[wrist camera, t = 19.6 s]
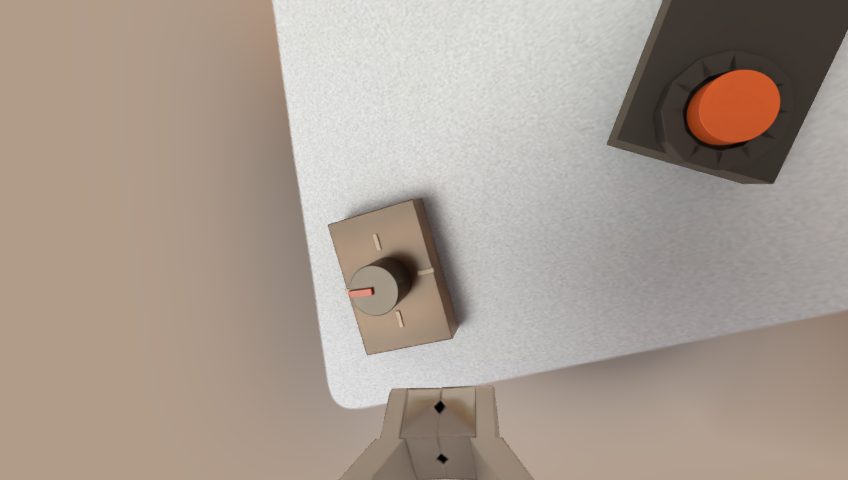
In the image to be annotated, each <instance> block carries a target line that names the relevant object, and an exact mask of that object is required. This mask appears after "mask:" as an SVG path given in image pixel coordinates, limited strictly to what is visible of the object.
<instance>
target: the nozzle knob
mask: <svg viewBox="0 0 848 480" xmlns="http://www.w3.org/2000/svg"><path fill="white" fill-rule="evenodd" d="M410 288H411V277H410V274H409V271H408V270H407V268H406V267H405V266H404V264H402V263H401V262H400V261H398V260H396V259H393V258H381V259H378V260H376V261H374V262H372V263H370V264H368V265H366V266H364V267H362V268H360V269H359V270H358V271H357V272H356V273H355V274H354V275H353V277H352V280H351V283H350V291H349V297H350V298H352V300H353V302H354V304H355V305H356V306H357V308H358V309H360V310H361V311H362V312H364V313H366V314H368V315H372V316H381V315H384V314H387V313H388V312H390V311H391V310H392V309H393V308H394V307H395V306H397V305H398V304H399V303H400V302H401V301H402V300H403V299H404V298H405V297H406V296H407V295H408V293H409V291H410Z"/></svg>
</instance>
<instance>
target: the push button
mask: <svg viewBox="0 0 848 480" xmlns="http://www.w3.org/2000/svg"><path fill="white" fill-rule="evenodd" d="M779 108H780V95H779V91H778V88H777V87H776V85H775V83H774V82H773V81H772V80H771V79H770V78H769V77H768V76H766V75H764V74H762V73H760V72H757V71H754V70H736V71H732V72H728V73H726V74H724V75H722V76H720V77H718V78H717V79H715V80H713V81H711V82H710V83H708V84H706V85H704V86H703V87H702V88H700V89H699V90H698V91H697V92H696V93H695V95H694V96H693V97H692V99H691V101H690V103H689V106H688V109H687V122H688V126H689V128H690V130H691V132H692V133H693V134H694V135H695V136H696V137H697V138H698V139H699V140H701V141H703V142H705V143H708V144H712V145H728V144H733V143H738V142H743V141H747V140H750V139H753V138H755V137H757V136H759V135H760V134H762V133H763V132H764V131H766V130H767V129H768V128H769V127H770V126H771V124H772V123H773V122H774V120H775V118H776V117H777V114H778V112H779Z"/></svg>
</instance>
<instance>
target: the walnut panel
mask: <svg viewBox="0 0 848 480" xmlns="http://www.w3.org/2000/svg"><path fill="white" fill-rule="evenodd" d="M328 227H329V231H330V234H331V237H332V241H333V244H334V247H335V251H336V254H337V257H338V260H339V264H340V267H341V270H342V274H343V277H344V280H345V284H346V287H347V289H345V291H346V293H348V294H349V291H350V283H351V280H352V277H353V275H354V274H355V273H356V272H357V271H358V270H359V269H360V268H362V267H364V266H366V265H368V264H370V263H372V262H374V261H376V260H378V259H381V258H393V259H396V260H398V261H400V262H401V263H402V264H404V266H405V267H406V268H407V270H408V271H409V274H410V277H411V288H410V291H409V293H408V295H407V296H406V297H405V298H404V299H403V300H402V301H401V302H400V303H399V304H398V305H397V306H395V307H394V308H393V309H392V310H391V311H390V312H388V313H387V314H384V315H381V316H372V315H368V314H366V313H364V312H362V311H361V310H360V309H358V308H357V306H356V305H355V304H354V302H353V300H352V298H350V300H351V304H352V307H353V310H354V314H355V317H356V320H357V324H358V327H359V330H360V334H361V337H362V340H363V344H364V347H365V350H366V354H367V355H371V354H376V353H381V352H386V351H391V350H397V349H402V348H407V347H412V346H417V345H422V344H427V343H432V342H437V341H442V340H447V339H452V338H453V337H454V335H455V333H456V331H457V329H458V323H457V320H456V316H455V313H454V309H453V306H452V302H451V299H450V295H449V292H448V288H447V285H446V281H445V278H444V274H443V271H442V267H441V264H440V260H439V257H438V253H437V250H436V246H435V243H434V239H433V236H432V232H431V229H430V225H429V222H428V218H427V215H426V211H425V208H424V204H423V201H422V198H419V199H412V200H408V201H405V202H402V203H398V204H395V205H392V206H388V207H385V208H382V209H378V210H375V211H372V212H368V213H365V214H362V215H358V216H355V217H352V218H348V219H345V220H342V221H339V222H335V223H332V224H329V225H328Z"/></svg>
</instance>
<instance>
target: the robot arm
mask: <svg viewBox="0 0 848 480" xmlns="http://www.w3.org/2000/svg"><path fill="white" fill-rule="evenodd" d="M431 479H461V480H462V479H463V480H464V479H465V480H534V479H533V477H532V476H531V475H530V473H529V472H528V471H527V470H526V468H525V467H524V465H523V464H522V463H521V462H520V460H519V459H518V458H517V456H516V455H515V453H514V452H513V451H512V449H511V448H510V447H509V445H508V444H507V443H506V441H505V440H504V439H503V438H502V437H500V436H499V425H498V416H497V407H496V398H495V390H494V385H492V386H459V387H442V388H401V389H392V390H391V392H390V394H389V398H388V403H387V408H386V413H385V417H384V422H383V427H382V432H381V436H380V439H375V440H374V441H373V442H372V443H371V444H370V446H368V448H367V449H366V450H365V451H364V452H363V453H362V454H361V455H360V457H359V458H358V459H357V460H356V461H355V462H354V463H353V464H352V466H351V467H350V468H349V469H348V470H347V471H346V472H345V473H344V475H343V476H342V477H341V478H340V479H339V480H431Z"/></svg>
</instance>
